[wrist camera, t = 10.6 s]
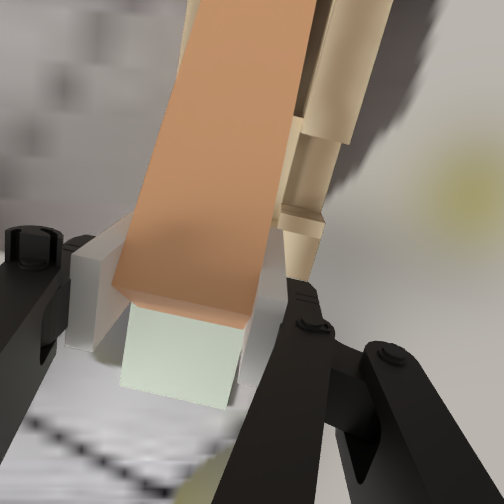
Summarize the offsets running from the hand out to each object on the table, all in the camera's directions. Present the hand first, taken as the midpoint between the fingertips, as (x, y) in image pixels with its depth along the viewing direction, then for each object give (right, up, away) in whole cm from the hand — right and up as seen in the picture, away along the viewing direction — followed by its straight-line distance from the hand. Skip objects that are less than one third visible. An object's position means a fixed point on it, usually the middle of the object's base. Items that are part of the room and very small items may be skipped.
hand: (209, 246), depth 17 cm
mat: (-5, -10, +26) cm, 29 cm away
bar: (+1, +4, +1) cm, 4 cm away
